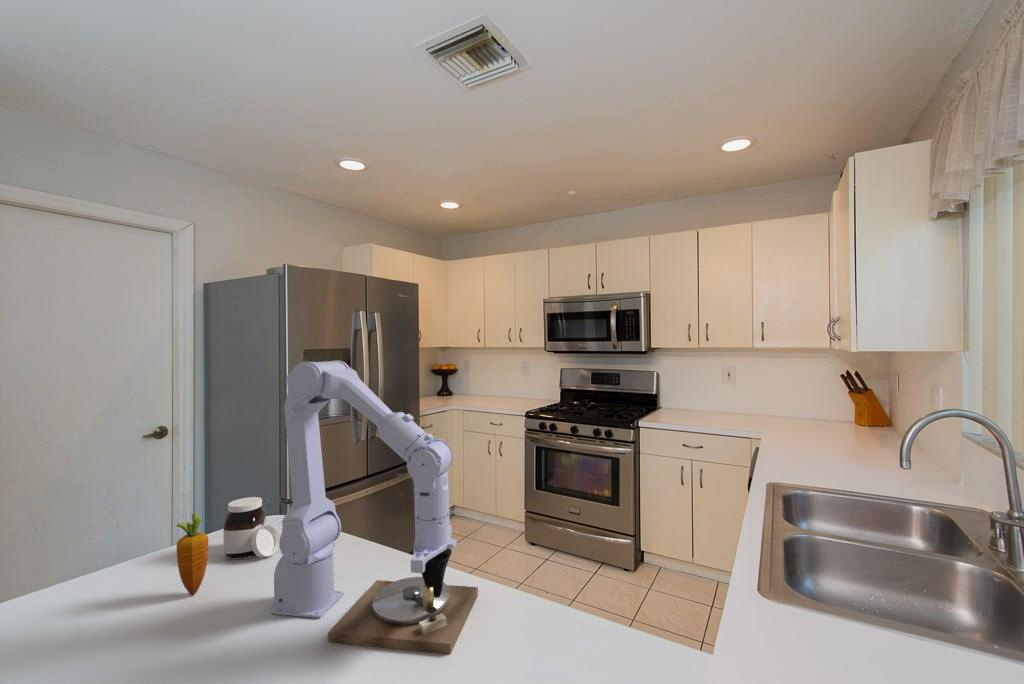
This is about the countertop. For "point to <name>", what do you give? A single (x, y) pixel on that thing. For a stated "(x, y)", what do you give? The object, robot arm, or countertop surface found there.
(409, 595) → the cam dial
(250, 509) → the spread jar
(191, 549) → the carrot
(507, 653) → the countertop surface
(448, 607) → the stand
